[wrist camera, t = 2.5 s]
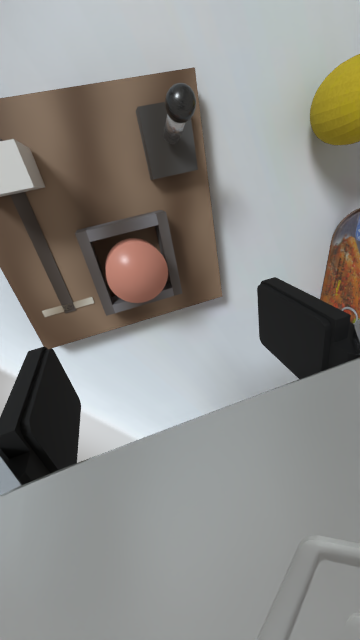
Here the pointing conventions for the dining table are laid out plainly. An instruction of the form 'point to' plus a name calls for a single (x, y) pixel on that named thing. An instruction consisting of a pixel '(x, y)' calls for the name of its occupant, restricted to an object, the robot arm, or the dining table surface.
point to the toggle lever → (178, 110)
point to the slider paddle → (17, 169)
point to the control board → (105, 204)
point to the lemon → (338, 105)
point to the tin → (344, 268)
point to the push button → (136, 270)
